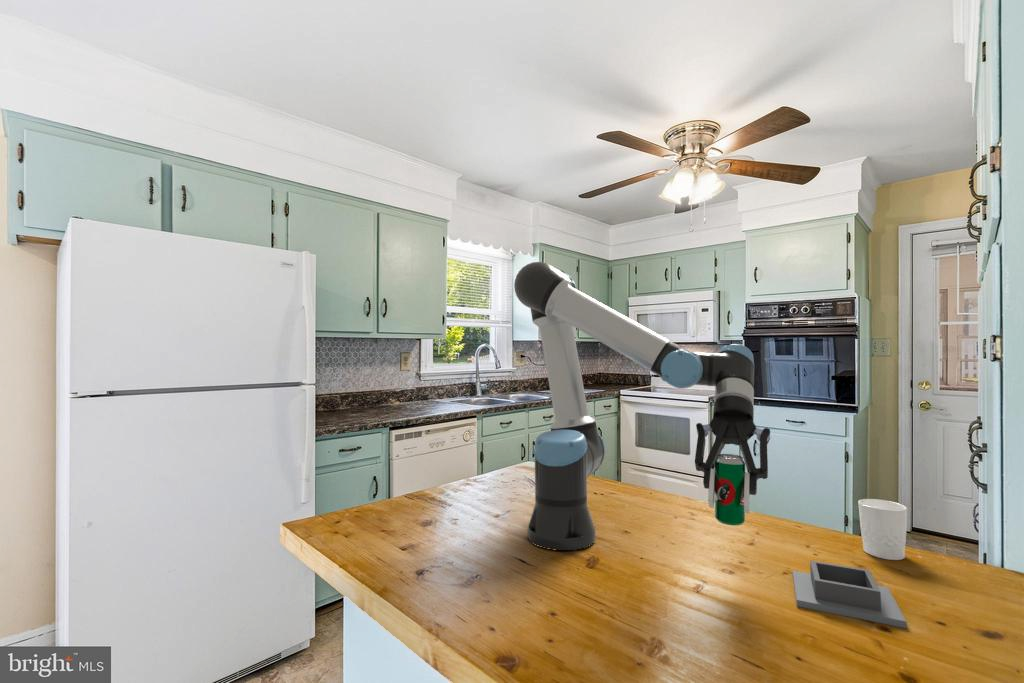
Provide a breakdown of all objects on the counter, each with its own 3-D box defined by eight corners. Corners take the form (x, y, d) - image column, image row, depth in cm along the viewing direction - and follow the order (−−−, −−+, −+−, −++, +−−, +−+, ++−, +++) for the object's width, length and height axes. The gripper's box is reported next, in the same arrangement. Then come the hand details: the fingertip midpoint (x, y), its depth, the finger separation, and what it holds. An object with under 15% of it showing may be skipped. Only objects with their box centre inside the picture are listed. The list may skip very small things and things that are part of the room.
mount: (796, 606, 77) (796, 581, 77) (792, 576, 88) (792, 554, 88) (906, 628, 71) (905, 600, 71) (887, 593, 81) (887, 569, 81)
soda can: (748, 527, 85) (748, 459, 85) (718, 525, 86) (718, 458, 86) (740, 518, 89) (740, 454, 90) (712, 516, 90) (712, 452, 91)
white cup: (898, 548, 100) (896, 500, 100) (916, 564, 92) (914, 512, 93) (854, 544, 102) (852, 497, 103) (868, 558, 95) (866, 508, 95)
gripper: (782, 419, 97) (786, 526, 82) (689, 413, 106) (677, 509, 91) (783, 395, 93) (788, 503, 78) (686, 391, 101) (672, 487, 86)
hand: (728, 506), depth 84 cm, fingers closed on soda can, 5 cm apart
